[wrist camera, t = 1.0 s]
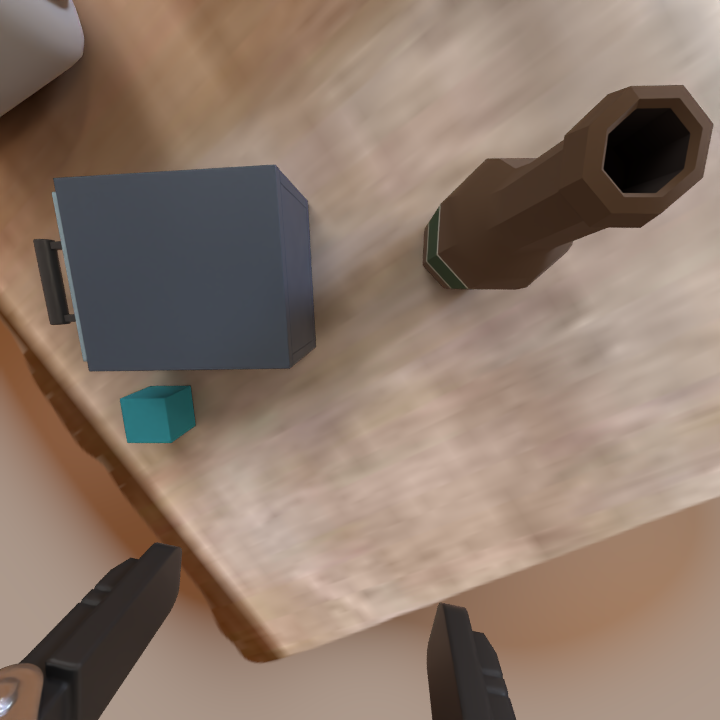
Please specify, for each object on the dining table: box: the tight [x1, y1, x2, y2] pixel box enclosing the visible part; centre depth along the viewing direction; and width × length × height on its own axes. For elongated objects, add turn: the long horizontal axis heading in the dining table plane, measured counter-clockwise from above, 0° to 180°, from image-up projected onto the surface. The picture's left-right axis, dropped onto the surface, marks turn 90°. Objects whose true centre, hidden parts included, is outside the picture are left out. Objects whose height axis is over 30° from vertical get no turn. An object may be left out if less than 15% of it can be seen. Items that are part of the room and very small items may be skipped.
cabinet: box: [53, 165, 316, 371], centre depth 30 cm, size 16×14×10 cm
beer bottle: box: [423, 85, 713, 290], centre depth 21 cm, size 8×8×24 cm
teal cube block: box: [120, 386, 196, 443], centre depth 36 cm, size 4×4×4 cm
